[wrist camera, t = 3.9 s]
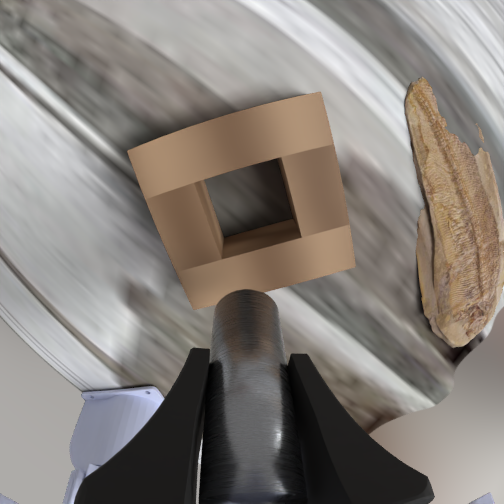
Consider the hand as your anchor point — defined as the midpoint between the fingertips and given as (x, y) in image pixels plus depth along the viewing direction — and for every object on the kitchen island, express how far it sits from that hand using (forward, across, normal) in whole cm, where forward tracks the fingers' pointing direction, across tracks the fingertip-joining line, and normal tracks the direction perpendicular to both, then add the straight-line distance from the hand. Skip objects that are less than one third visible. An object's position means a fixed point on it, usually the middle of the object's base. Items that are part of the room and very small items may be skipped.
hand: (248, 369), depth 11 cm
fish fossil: (+11, -17, -3) cm, 21 cm away
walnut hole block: (+10, 0, -4) cm, 11 cm away
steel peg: (+3, 0, 0) cm, 3 cm away
